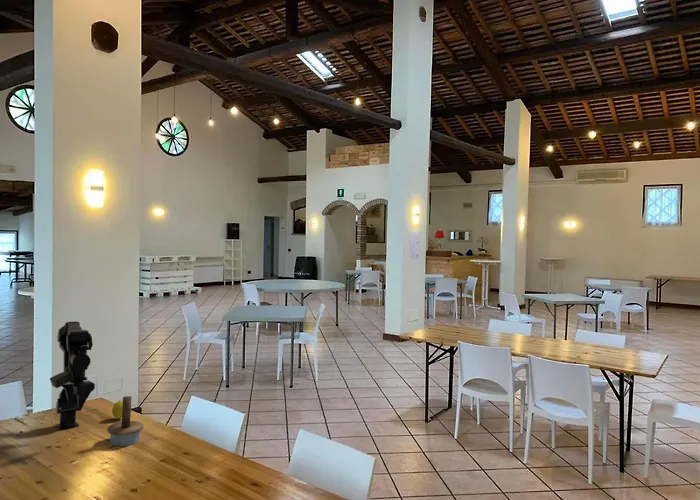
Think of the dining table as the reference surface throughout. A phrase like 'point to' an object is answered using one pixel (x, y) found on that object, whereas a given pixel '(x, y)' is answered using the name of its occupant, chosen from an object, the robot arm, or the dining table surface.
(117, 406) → the lemon
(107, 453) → the dining table surface
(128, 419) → the brown peg on base
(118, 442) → the bowl
